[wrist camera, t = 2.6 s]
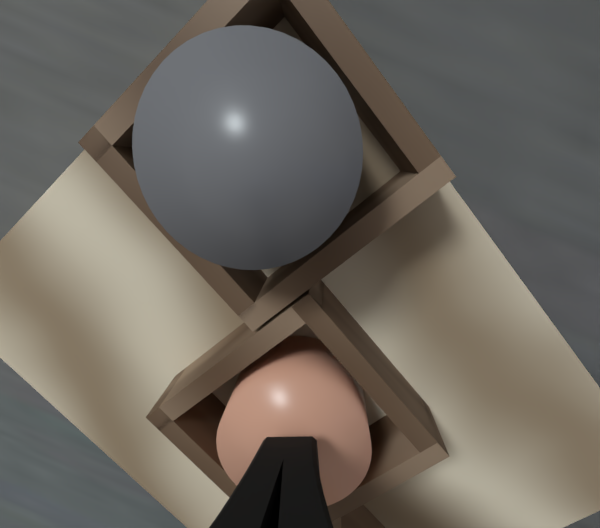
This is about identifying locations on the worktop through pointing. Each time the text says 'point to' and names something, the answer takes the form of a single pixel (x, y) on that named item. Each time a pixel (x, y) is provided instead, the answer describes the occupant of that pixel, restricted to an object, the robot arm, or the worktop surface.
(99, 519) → the worktop surface
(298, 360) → the terracotta button
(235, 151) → the charcoal button
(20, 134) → the worktop surface
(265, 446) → the robot arm
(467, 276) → the button panel
